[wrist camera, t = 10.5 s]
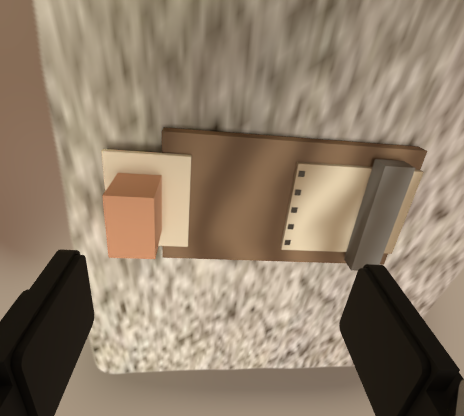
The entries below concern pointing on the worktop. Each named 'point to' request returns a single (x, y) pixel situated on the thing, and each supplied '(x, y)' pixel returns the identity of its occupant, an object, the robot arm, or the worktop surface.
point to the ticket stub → (145, 201)
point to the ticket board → (294, 197)
